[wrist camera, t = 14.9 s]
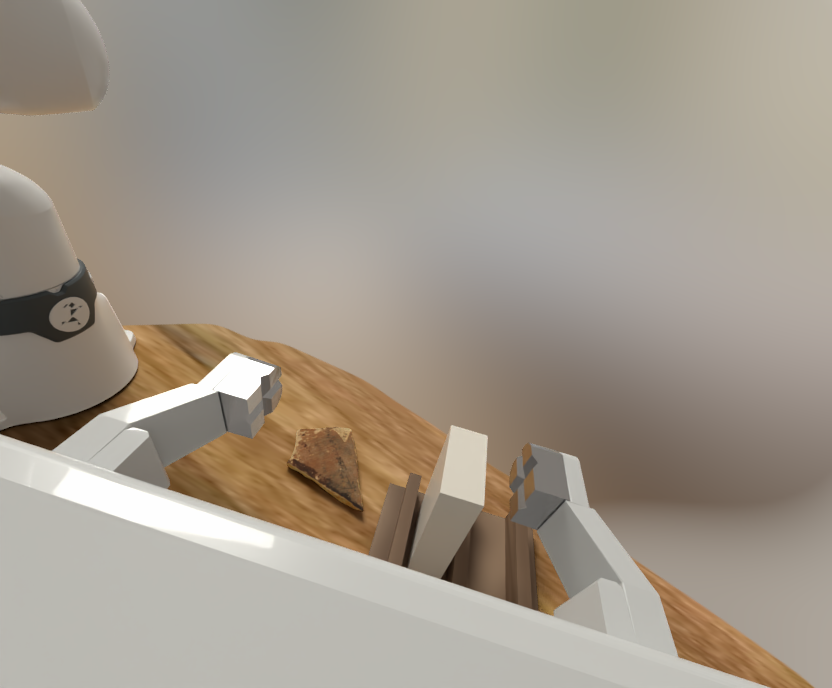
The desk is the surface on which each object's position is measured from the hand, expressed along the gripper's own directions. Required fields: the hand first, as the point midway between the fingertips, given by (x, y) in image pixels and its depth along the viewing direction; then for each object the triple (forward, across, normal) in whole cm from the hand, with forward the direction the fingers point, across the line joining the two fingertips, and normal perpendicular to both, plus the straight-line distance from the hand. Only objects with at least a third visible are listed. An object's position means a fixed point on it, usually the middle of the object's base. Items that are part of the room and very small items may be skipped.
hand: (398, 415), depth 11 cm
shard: (+15, +6, +29) cm, 33 cm away
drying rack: (+9, -8, +28) cm, 30 cm away
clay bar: (+8, -6, +26) cm, 28 cm away
